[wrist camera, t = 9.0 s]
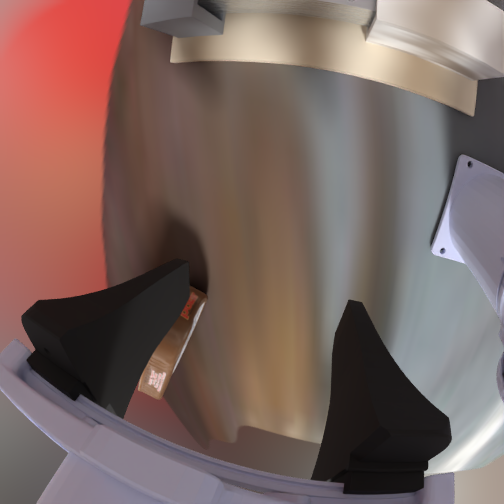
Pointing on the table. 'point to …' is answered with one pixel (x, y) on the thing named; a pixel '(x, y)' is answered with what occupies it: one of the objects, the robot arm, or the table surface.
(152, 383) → the tin
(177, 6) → the socket
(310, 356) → the table surface
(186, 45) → the tube stand
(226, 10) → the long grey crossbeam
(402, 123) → the table surface
